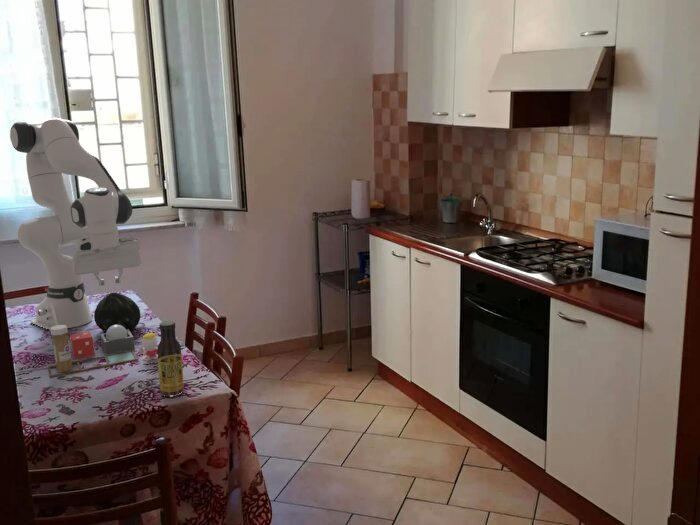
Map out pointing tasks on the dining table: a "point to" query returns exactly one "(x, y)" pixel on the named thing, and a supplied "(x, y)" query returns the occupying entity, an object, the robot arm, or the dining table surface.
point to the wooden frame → (110, 359)
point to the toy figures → (149, 346)
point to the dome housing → (118, 343)
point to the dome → (116, 332)
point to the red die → (82, 344)
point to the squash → (117, 312)
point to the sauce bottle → (169, 361)
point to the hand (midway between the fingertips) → (109, 283)
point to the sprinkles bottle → (61, 348)
